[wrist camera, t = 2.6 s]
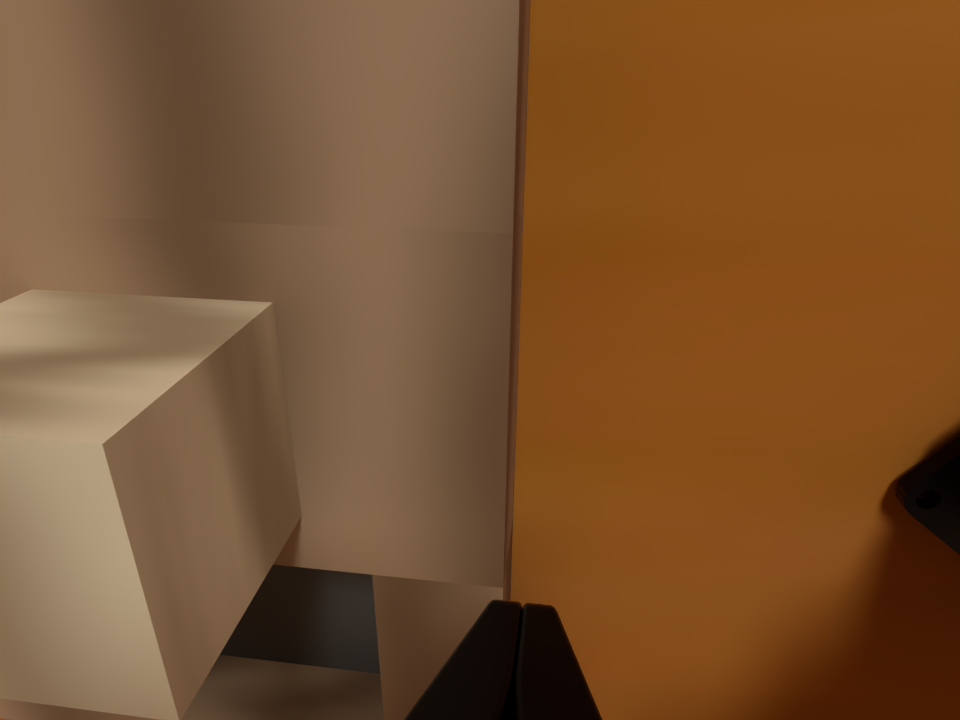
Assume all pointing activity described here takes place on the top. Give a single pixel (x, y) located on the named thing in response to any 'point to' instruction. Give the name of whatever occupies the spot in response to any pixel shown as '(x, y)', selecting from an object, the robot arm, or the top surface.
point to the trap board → (306, 289)
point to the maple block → (135, 492)
